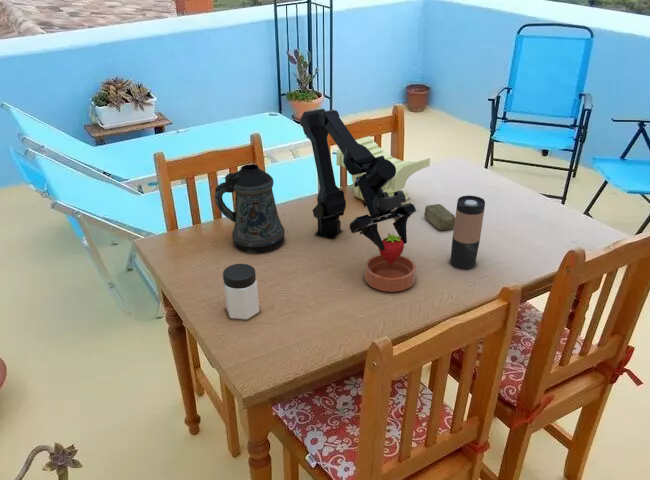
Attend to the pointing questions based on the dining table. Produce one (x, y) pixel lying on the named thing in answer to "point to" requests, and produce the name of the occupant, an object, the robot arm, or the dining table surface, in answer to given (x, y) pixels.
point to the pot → (390, 273)
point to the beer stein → (252, 210)
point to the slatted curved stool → (402, 167)
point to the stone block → (439, 217)
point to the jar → (241, 291)
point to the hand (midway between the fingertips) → (394, 246)
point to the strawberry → (392, 248)
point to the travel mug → (467, 231)
